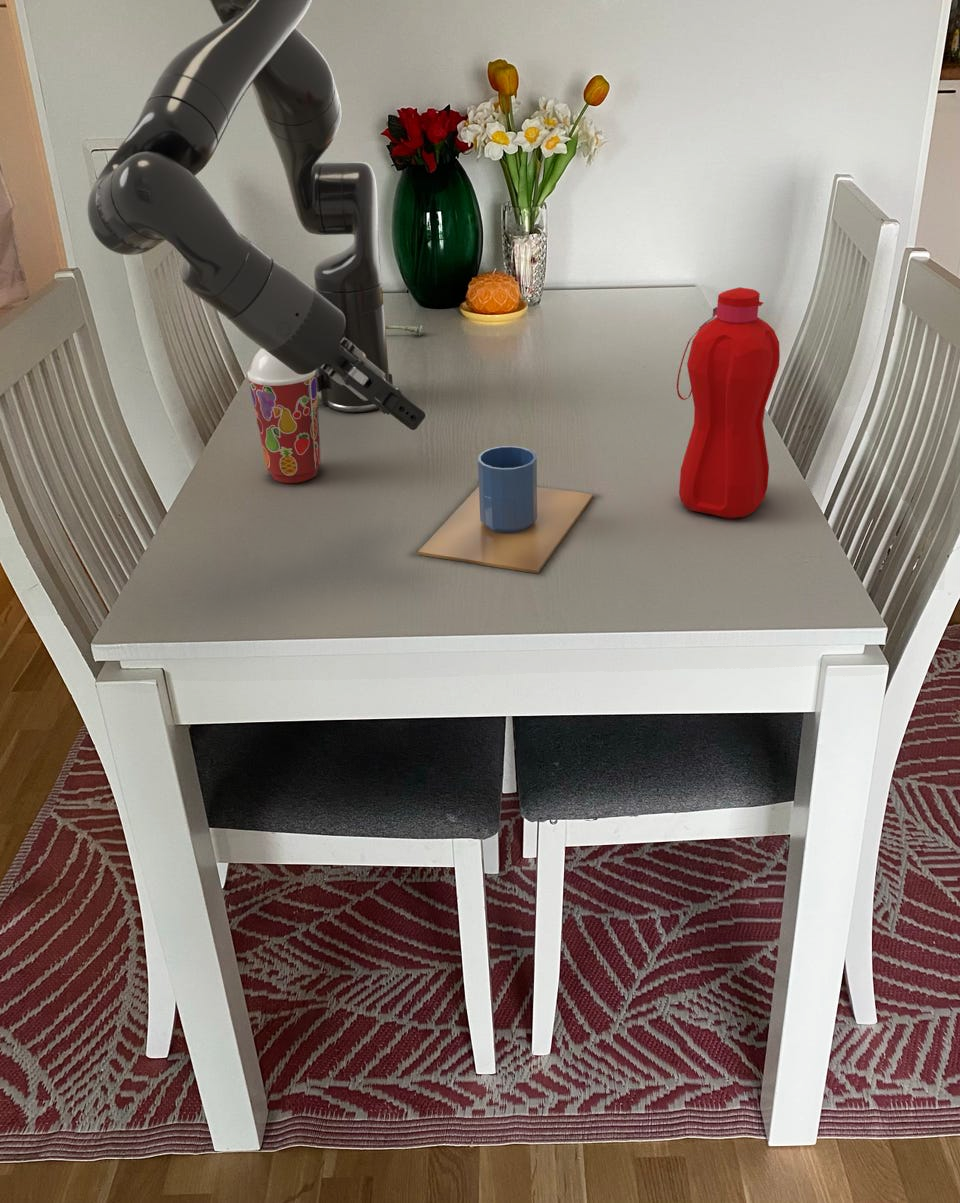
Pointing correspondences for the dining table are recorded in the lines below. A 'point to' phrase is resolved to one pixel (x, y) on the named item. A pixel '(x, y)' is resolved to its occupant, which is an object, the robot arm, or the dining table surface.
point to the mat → (508, 533)
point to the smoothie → (286, 418)
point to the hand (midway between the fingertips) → (404, 409)
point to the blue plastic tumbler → (508, 488)
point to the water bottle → (729, 408)
